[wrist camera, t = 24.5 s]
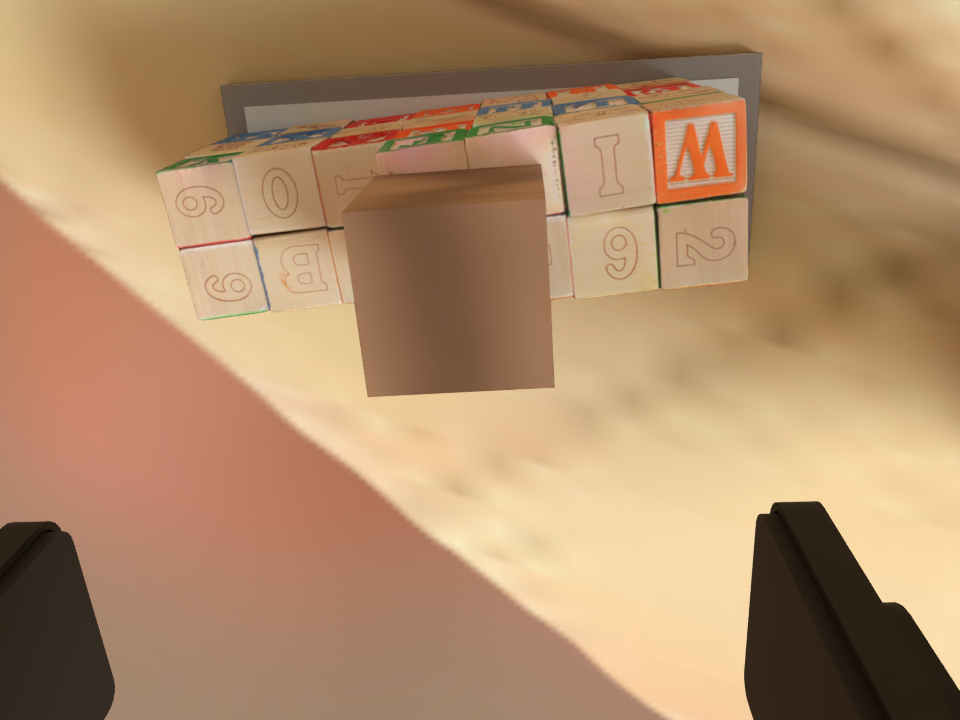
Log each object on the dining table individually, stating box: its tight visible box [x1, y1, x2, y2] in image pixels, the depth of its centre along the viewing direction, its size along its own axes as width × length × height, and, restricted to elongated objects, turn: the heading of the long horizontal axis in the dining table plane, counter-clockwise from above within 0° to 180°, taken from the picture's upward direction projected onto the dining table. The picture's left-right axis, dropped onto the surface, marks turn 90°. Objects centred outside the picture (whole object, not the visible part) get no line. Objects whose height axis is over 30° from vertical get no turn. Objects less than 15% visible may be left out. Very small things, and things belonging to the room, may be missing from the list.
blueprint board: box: [220, 52, 762, 264], centre depth 41 cm, size 25×10×1 cm, turn 93°
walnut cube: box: [342, 164, 555, 397], centre depth 26 cm, size 6×6×6 cm
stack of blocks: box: [156, 77, 748, 320], centre depth 34 cm, size 21×6×12 cm, turn 98°
